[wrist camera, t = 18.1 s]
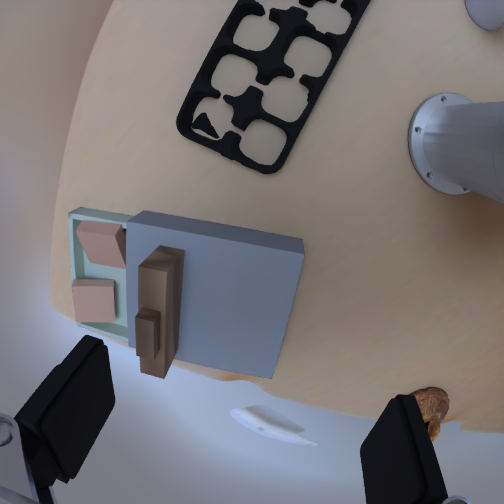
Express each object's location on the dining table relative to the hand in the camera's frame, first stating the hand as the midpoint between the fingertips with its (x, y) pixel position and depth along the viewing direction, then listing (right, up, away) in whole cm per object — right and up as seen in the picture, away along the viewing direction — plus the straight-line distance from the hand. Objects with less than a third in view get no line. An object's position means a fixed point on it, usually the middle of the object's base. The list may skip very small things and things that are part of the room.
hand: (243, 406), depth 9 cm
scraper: (-10, -1, +29) cm, 30 cm away
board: (-5, 0, +33) cm, 33 cm away
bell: (+30, -23, +39) cm, 55 cm away
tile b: (-22, -3, +32) cm, 39 cm away
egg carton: (+4, +28, +22) cm, 36 cm away
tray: (-20, +2, +34) cm, 39 cm away
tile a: (-18, +6, +30) cm, 36 cm away
